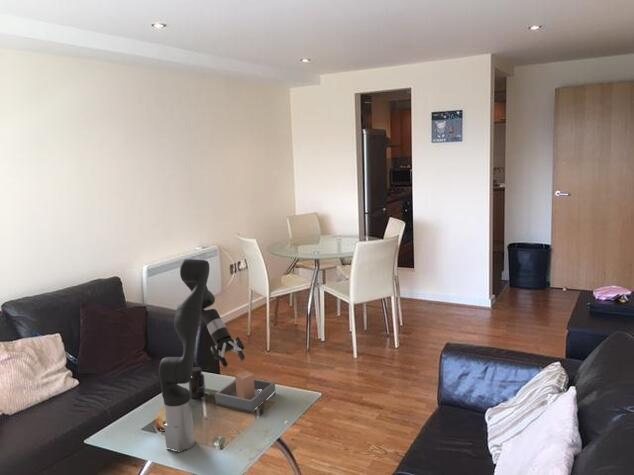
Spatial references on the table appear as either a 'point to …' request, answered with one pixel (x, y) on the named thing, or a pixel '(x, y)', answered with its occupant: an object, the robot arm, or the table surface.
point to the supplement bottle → (197, 383)
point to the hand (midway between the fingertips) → (234, 363)
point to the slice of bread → (161, 419)
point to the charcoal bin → (230, 399)
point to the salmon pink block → (245, 385)
